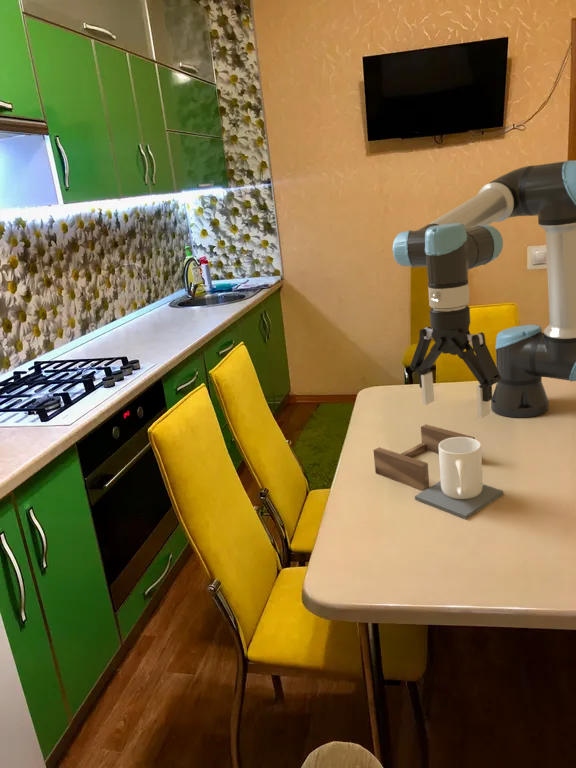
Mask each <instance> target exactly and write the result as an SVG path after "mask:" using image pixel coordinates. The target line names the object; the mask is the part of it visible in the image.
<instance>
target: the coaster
mask: <svg viewBox="0 0 576 768" xmlns="http://www.w3.org/2000/svg"><path fill="white" fill-rule="evenodd" d="M503 495H504V490H501V489H499V488H495V487H492V486H490V485H487V484H484V483H483V486H482V491H481V493H480V494H479V495H478V496H476V497H474V498H470V499H454V498H451V497H448V496H447V495H445V494H444V493H443V491H442V489H441V480H440V481H438V482H436V483H435V484H433V485H432V486H429V488H428V489H426V490H424V491H421V492H419V493H418V494H416V495H415V496H414V500H416V501H418V502H420V503H423V504H426V505H428V506H431V507H433V508H436V509H439V510H440V511H441V510H442V511H443V512H446V513H449V514H451V515H454V516H456V517H458V518H461V519H464V520H467V519H468V518H470V517H472V516H473V515H474V514H476V513H478V512H479V511H480V510H482V509H484V508H485V507H486V506H488V505H490V504H491V503H492V502H494V501H496V500H497V499H499V498H500V497H502V496H503Z"/></svg>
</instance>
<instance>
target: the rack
mask: <svg viewBox="0 0 576 768" xmlns="http://www.w3.org/2000/svg"><path fill="white" fill-rule="evenodd" d="M420 435H421V442H420V443H418V444H417V445H414V446H413V447H411V448H409V449H407V450H405V451H403V452H401V453H398V452H395V451H392V450H389V449H386V448H384V447H380V446H379V447H377V448H375V449H373V460H374V468H375V469H374V470H375V474H377V475H379V476H382V477H385V478H388V479H390V480H393V481H396V482H398V483H402V484H403V485H406V486H409V487H412V488H414V489H417V490H420V491H421V492H423V491H424V490H426V489H428V488H430V477H429V475H430V474H429V464H428V462H425V461H423V460H419V459H416V458H414V457H415V456H417V455H419V454H421V453H422V452H424V451H428V452H431V453H435V454H438V455H439V443H440V442H441V441H443V440H445V439H448V438H452V437H468V438H473V439H475V436H472V435H468V434H463V433H460V432H458V431H457V432H456V431H452V430H448V429H445V428H441V427H437V426H434V425H430V424H424V425H422V426H420Z"/></svg>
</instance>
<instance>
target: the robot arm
mask: <svg viewBox="0 0 576 768" xmlns="http://www.w3.org/2000/svg"><path fill="white" fill-rule="evenodd" d="M526 216H527V217H529V216H530V217H531V216H532V217H533V216H534V217H535V216H537V222H538V223H537V224H538V226H539V227H540V228H541V229H543V230H544V232H545V245H546V246H545V247H546V249H545V251H546V269H547V272H546V273H547V290H548V291H547V292H548V295H547V296H548V313H549V314H548V315H549V316H548V317H549V324H548V325H547V326H546V327H545V328H544V329H543V328H542V327H541V325H538V324H523V325H519V326H518V325H517V326H516V325H515V326H512V327H509V328H508V327H507V328H505V329H502V330H501V331H499V332H498V333H497V335H496V338H495V356H496V357H495V359H496V360H495V361H496V362H495V361H494V359H493V357H492V355H491V351H490V350H489V348H488V346H487V343H486V336H485V335H486V334H485V333H483V332H478V333H477V334H475V333H474V334H473V333H472V334H471V332H470V326H471V311H470V310H471V309H470V306H468V305H469V304H470V289H469V288H470V287H469V270H471V269H473V268H477V267H480V266H485V265H487V264H489V263H491V262H492V261H495V260H496V259H497V258H498V257H499V256H500V255H501V253H502V251H503V247H504V239H503V237H502V234H501V232H500V231H499V230H498V228H496V227H495V226H493V225H492V224H493V223H501V222H503V221H505V220H507V219H509V218H514V217H515V218H516V217H526ZM392 253H393V259H394V260H395V263H397V264H398V266H402V267H411V268H421V267H423V268H425V267H426V274H427V288H428V305H429V307H430V310H429V324H430V326H427V327H424V328H421V329H419V340H418V342H417V345H416V348H415V351H414V354H413V357H412V360H411V362H410V365H409V367H410V370H411V371H416V372H417V375H418V381H419V388H420V389H421V395H422V405H424V406H427V405H429V404H431V403H433V402H434V401H435V394H434V393H435V392H434V379H433V372H432V371H431V368H432V367H433V365H434V364H435V362H436V361H437V359H438V358H439V356H441V354H450V355H452V356H457V357H459V359H461V360H462V361H463V362H464V364H465V365H466V366H467V368H468V369H469V370H470V372H471V374H473V377H474V378H475V379H476V380H477V382H478V383H479V384H478V385H476V399H477V417H478V418H479V419H483V418H485V417H487V416H489V415H490V413H491V411H492V412H493V413H495V414H496V415H500V416H504V417H507V418H517V419H518V418H521V419H522V418H532V417H537V416H540V415H544V414H545V413H547V412H548V411H549V398H548V395H547V393H546V392H547V391H546V389H545V387H544V385H543V381H542V378H549V379H556V380H561V381H562V380H563V381H570V382H576V160H565V161H557V162H551V163H544V164H536V165H526V166H523V167H519V168H516V169H513V170H511V171H509V172H507V173H505V174H503V175H500V176H498V177H497V178H495V179H493V180H492V181H490V182H488V183H487V184H484V185H483V186H482V187H481V188H480V189H479V191H478V193H477V195H475V196H473V197H471V198H470V199H468V200H466V201H465V202H463V203H461V204H460V205H458V206H456V207H455V208H453V209H451V210H450V211H448V212H446V213H444V214H442V215H441V216H440V217H438V218H437V219H434V220H433V221H431V222H430V223H428V224H426V225H425V226H423V227H421V228H418V229H417V230H406V231H400V232H399V233H398V234H397V235H396V236H395V237H394V240H393V243H392ZM432 339H433V341H434V343H433V345H432V347H431V348H430V351H429V352H428V350H429V347H430V344H431V341H432ZM427 352H428V353H427ZM495 363H496V364H495ZM493 385H495V388H494V391H493ZM490 406H491V407H490ZM490 409H491V411H490Z"/></svg>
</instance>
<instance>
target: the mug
mask: <svg viewBox="0 0 576 768" xmlns="http://www.w3.org/2000/svg"><path fill="white" fill-rule="evenodd" d="M438 462H439V463H438V464H439V476H440V481H441V489H442V491H443V493H444V494H445V495H447V496H448V497H451V498H454V499H470V498H474V497H476V496H478V495H479V494H480V493H481V491H482V486H483V484H484V482H483V461H482V444H481V442H480V441H479V440H477V439H473V438H468V437H452V438H448V439H445V440H443V441H441V442H440V443H439V454H438Z"/></svg>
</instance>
